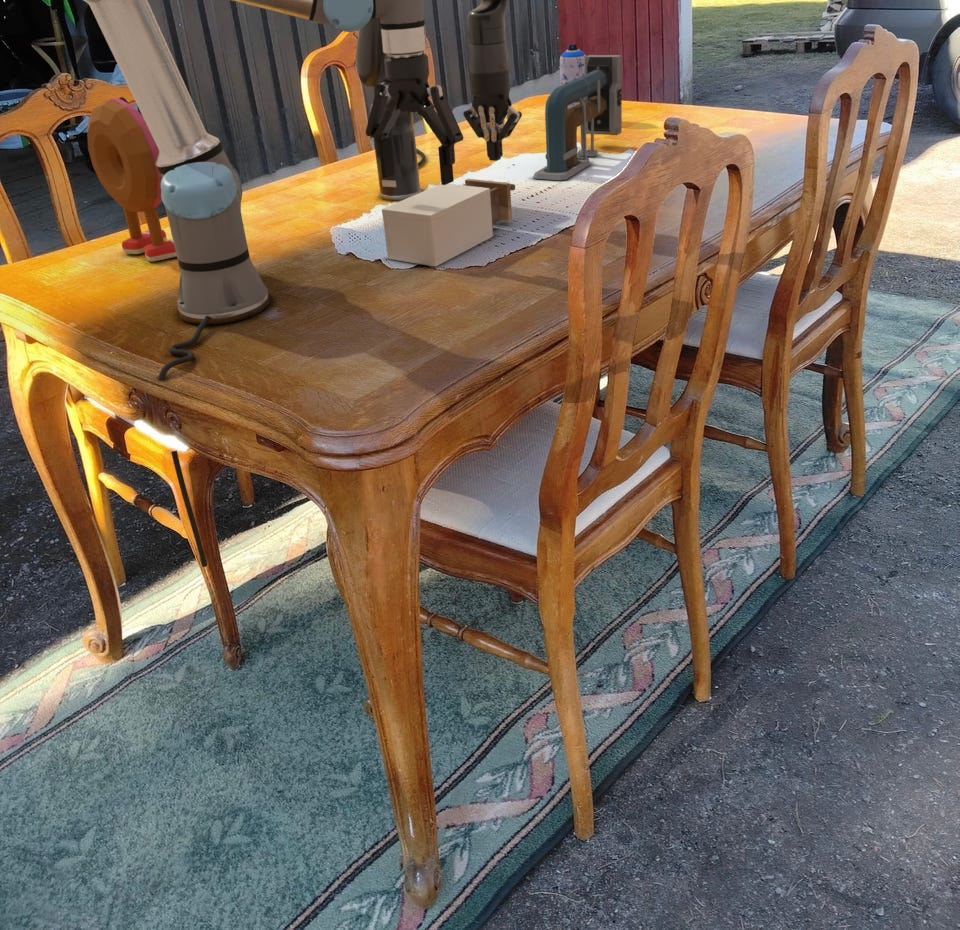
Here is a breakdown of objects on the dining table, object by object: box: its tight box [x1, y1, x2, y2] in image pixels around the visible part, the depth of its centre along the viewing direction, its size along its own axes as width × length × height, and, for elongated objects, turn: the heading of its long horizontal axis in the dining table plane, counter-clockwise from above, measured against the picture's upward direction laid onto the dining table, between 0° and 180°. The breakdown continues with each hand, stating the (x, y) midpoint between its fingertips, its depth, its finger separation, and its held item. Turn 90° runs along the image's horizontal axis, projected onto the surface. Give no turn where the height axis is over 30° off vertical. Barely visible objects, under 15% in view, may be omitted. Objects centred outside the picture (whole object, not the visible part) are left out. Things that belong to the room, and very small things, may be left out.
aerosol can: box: [559, 43, 587, 109], centre depth 273 cm, size 8×8×20 cm
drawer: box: [463, 178, 516, 226], centre depth 192 cm, size 23×10×7 cm, turn 145°
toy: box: [86, 96, 177, 263], centre depth 189 cm, size 21×10×30 cm, turn 47°
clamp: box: [532, 54, 623, 181], centre depth 230 cm, size 35×9×21 cm, turn 151°
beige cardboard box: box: [381, 183, 494, 267], centre depth 184 cm, size 19×11×10 cm, turn 145°
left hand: (417, 179), depth 176 cm, fingers open, 13 cm apart
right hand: (495, 159), depth 194 cm, fingers closed
